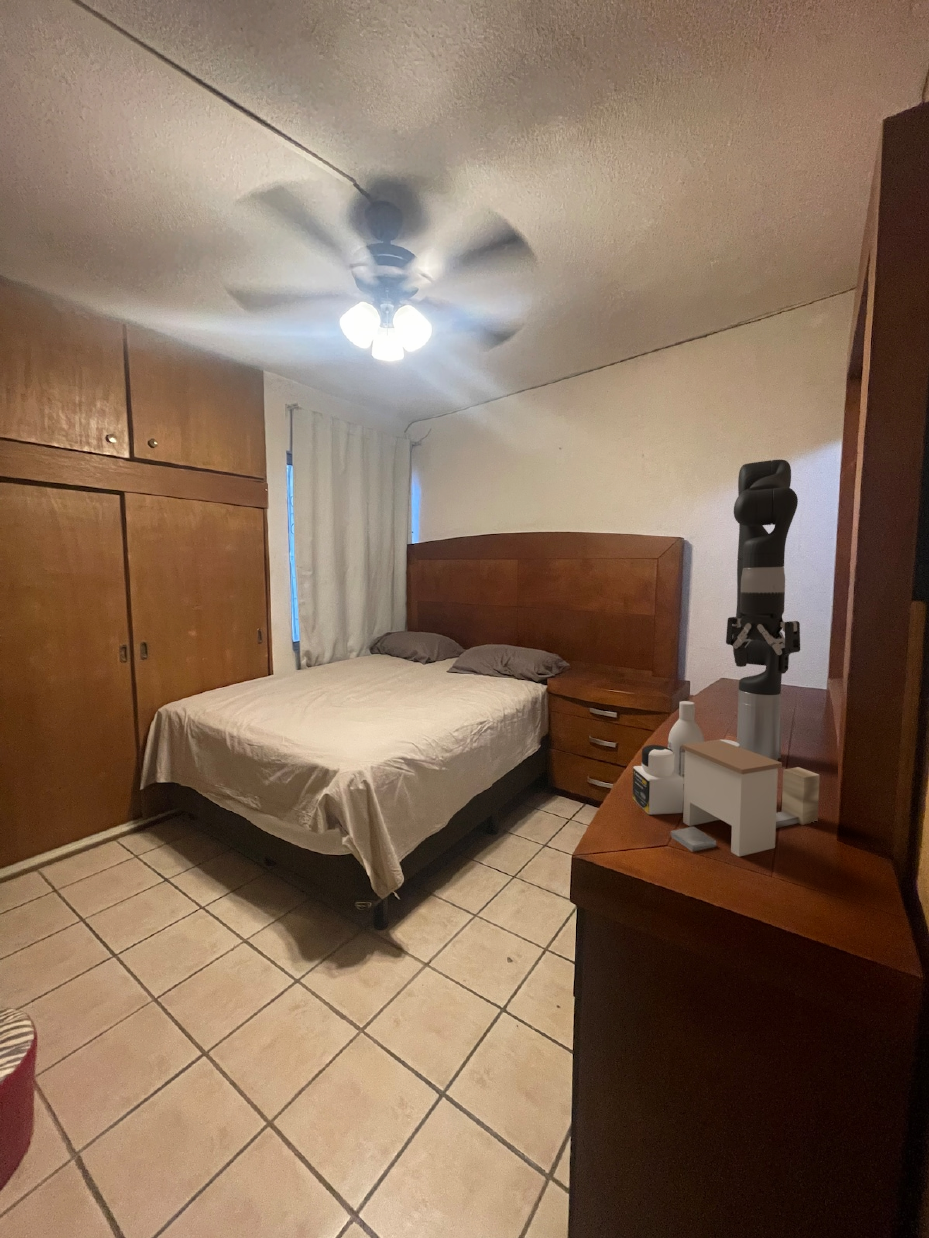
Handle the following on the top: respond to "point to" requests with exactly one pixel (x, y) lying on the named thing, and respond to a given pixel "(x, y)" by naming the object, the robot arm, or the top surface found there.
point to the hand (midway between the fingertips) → (759, 669)
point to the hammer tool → (798, 797)
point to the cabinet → (732, 792)
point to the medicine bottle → (658, 782)
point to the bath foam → (683, 736)
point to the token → (693, 839)
